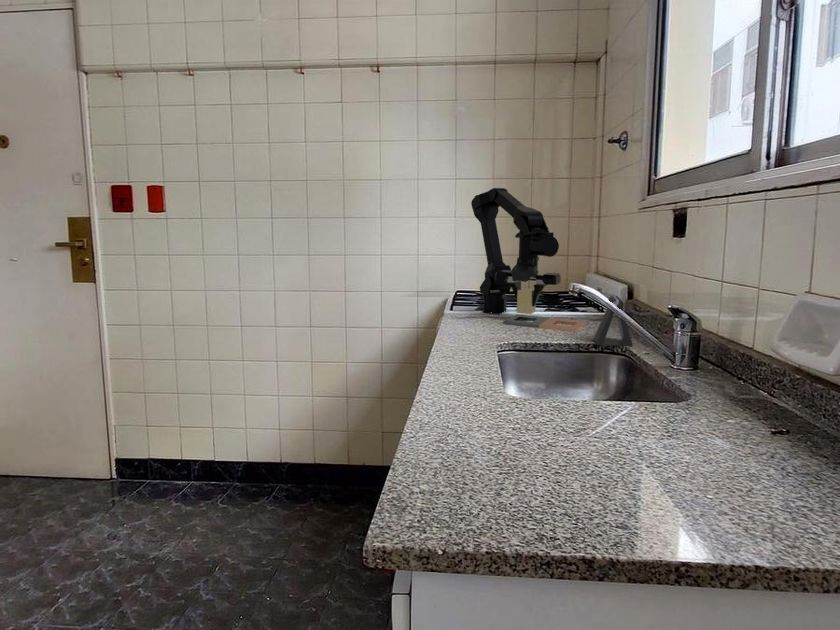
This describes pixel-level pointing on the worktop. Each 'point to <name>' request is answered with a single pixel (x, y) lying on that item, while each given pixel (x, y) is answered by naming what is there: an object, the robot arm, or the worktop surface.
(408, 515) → the worktop surface
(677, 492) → the worktop surface
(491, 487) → the worktop surface
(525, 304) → the wooden block
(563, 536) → the worktop surface
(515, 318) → the frame with rectangular openings
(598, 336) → the phone stand
